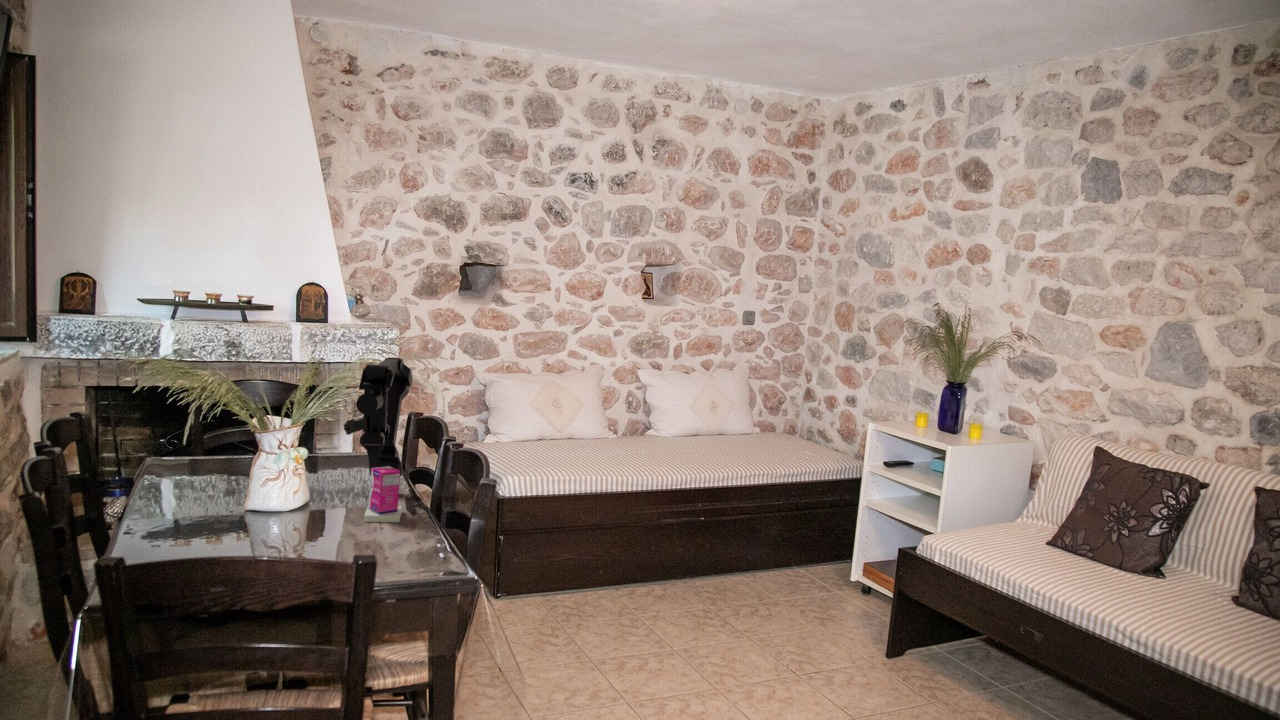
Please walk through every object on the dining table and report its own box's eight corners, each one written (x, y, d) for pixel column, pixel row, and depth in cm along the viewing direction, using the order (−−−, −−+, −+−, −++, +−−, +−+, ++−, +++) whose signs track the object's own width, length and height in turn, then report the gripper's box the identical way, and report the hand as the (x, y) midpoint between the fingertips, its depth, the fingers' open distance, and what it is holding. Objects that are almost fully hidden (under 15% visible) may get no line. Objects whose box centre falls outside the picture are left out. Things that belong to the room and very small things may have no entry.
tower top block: (367, 512, 228) (368, 505, 228) (401, 513, 230) (402, 506, 229) (363, 522, 219) (364, 515, 219) (399, 523, 221) (399, 515, 221)
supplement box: (367, 509, 223) (370, 467, 223) (386, 506, 228) (390, 465, 227) (378, 514, 220) (382, 472, 219) (398, 511, 224) (401, 470, 223)
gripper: (351, 402, 241) (349, 455, 242) (341, 413, 222) (339, 470, 224) (390, 404, 243) (388, 456, 244) (384, 415, 225) (382, 471, 226)
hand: (374, 463), depth 235 cm, fingers open, 9 cm apart
